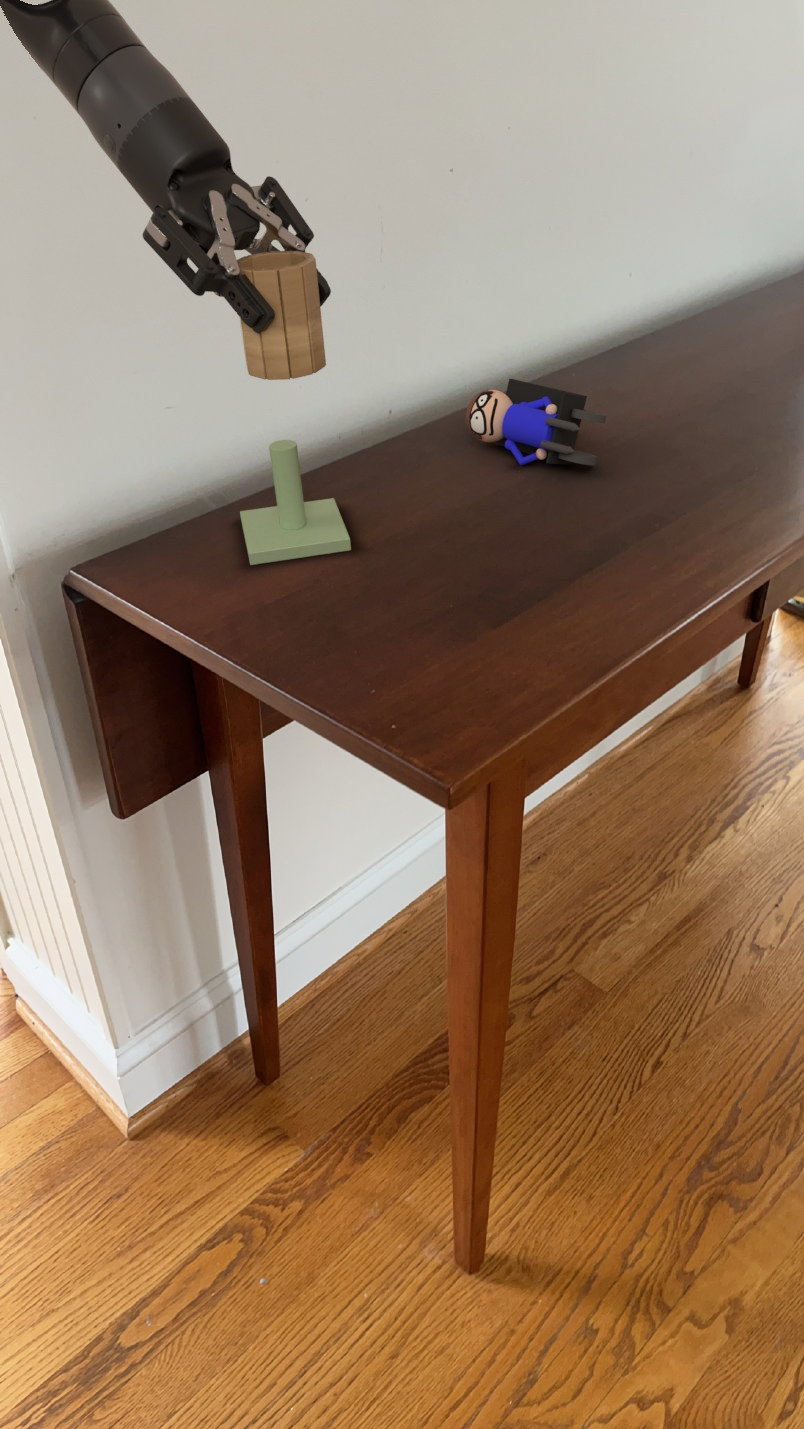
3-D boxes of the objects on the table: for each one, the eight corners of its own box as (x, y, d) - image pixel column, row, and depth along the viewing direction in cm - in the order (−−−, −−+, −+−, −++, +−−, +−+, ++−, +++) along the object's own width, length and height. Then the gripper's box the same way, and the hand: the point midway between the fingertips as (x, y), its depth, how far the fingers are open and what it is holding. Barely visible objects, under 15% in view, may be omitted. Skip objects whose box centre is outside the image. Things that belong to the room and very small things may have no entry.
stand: (250, 565, 89) (235, 471, 84) (241, 522, 97) (226, 433, 91) (351, 550, 91) (342, 457, 85) (335, 509, 98) (326, 420, 93)
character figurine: (574, 491, 99) (458, 456, 108) (618, 462, 102) (503, 430, 111) (573, 414, 94) (452, 384, 103) (619, 386, 97) (499, 359, 106)
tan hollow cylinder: (251, 384, 79) (235, 274, 74) (244, 359, 84) (229, 255, 79) (330, 374, 80) (320, 265, 75) (318, 350, 85) (308, 247, 80)
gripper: (100, 107, 70) (259, 305, 71) (238, 82, 79) (375, 257, 80) (67, 189, 75) (214, 371, 77) (198, 157, 85) (327, 319, 86)
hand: (296, 312), depth 79 cm, fingers closed on tan hollow cylinder, 6 cm apart
